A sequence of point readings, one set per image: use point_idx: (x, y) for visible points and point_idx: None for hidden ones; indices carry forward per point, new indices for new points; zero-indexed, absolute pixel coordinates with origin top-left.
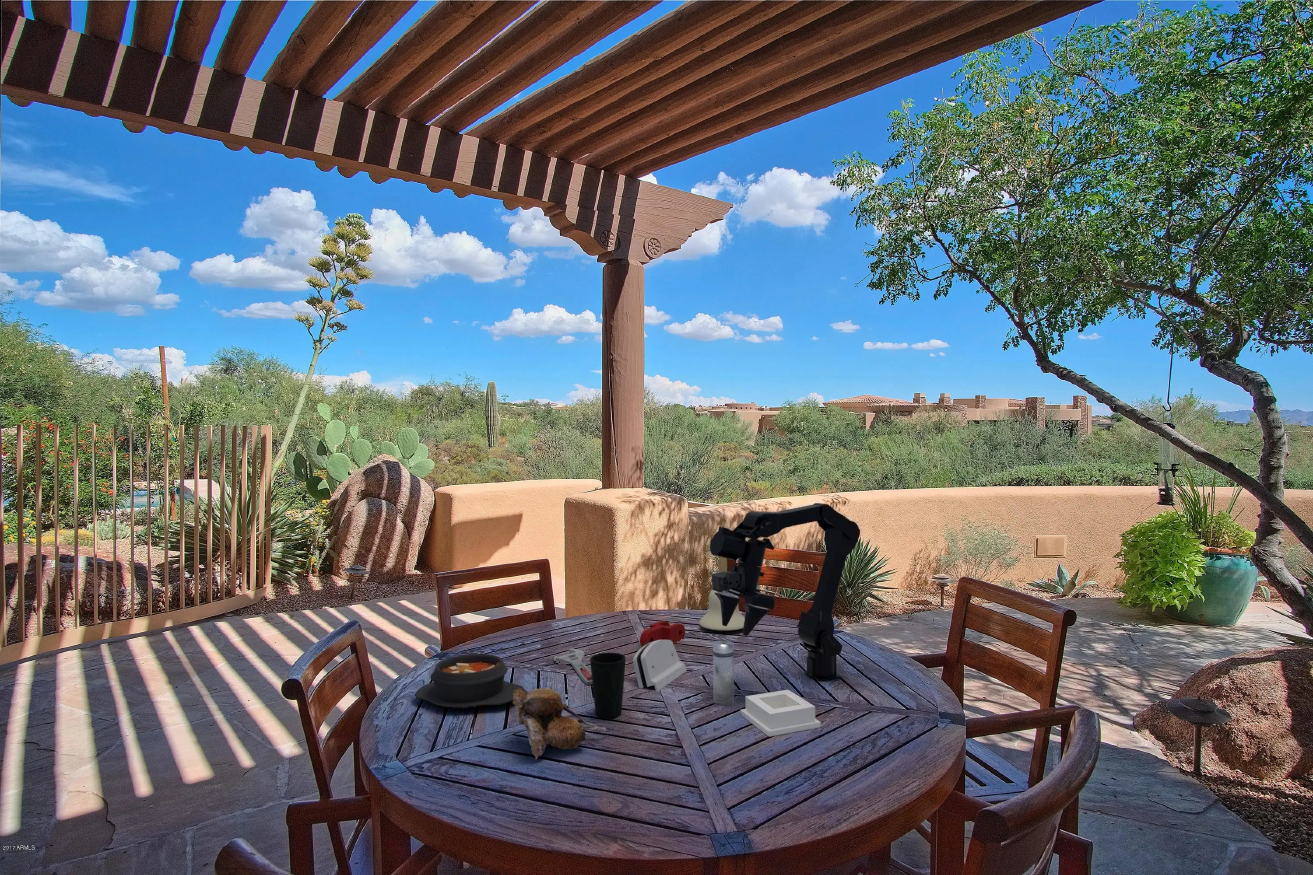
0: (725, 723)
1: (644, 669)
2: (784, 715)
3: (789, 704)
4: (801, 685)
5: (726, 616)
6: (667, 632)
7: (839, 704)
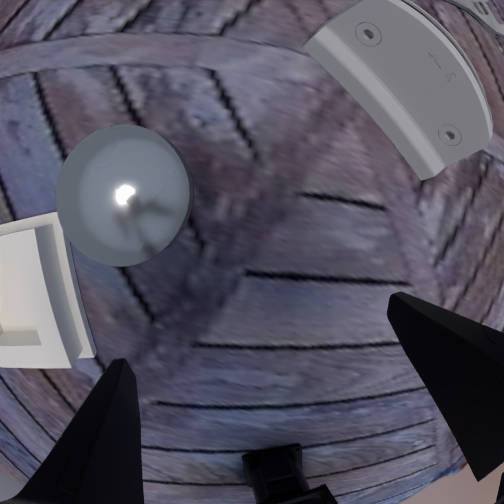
0: (29, 155)
1: (349, 6)
2: None
3: (32, 337)
4: (229, 422)
5: (426, 342)
6: None
7: None
